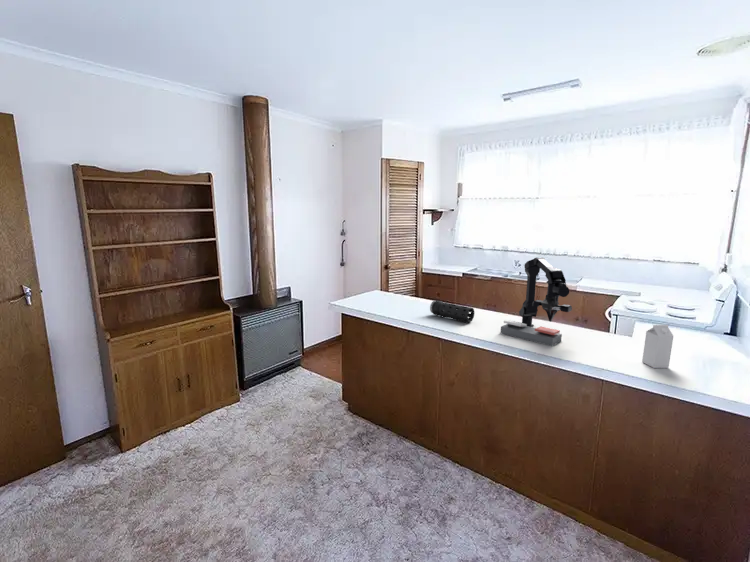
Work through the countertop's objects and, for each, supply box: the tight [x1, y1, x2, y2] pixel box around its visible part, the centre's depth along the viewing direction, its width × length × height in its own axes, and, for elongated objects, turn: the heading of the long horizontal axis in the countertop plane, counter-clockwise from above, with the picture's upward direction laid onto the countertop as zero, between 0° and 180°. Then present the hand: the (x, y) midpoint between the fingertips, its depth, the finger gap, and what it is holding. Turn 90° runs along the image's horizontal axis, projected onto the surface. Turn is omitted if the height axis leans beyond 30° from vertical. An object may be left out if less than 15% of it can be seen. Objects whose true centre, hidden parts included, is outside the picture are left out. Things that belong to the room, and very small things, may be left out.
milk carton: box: [641, 324, 674, 369], centre depth 174 cm, size 7×7×19 cm
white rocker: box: [503, 320, 527, 327], centre depth 219 cm, size 8×10×1 cm
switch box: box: [500, 323, 563, 347], centre depth 214 cm, size 12×29×5 cm, turn 44°
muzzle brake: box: [429, 300, 475, 324], centre depth 248 cm, size 10×28×10 cm, turn 47°
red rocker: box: [534, 326, 561, 335], centre depth 207 cm, size 8×10×1 cm
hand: (550, 321), depth 208 cm, fingers closed
